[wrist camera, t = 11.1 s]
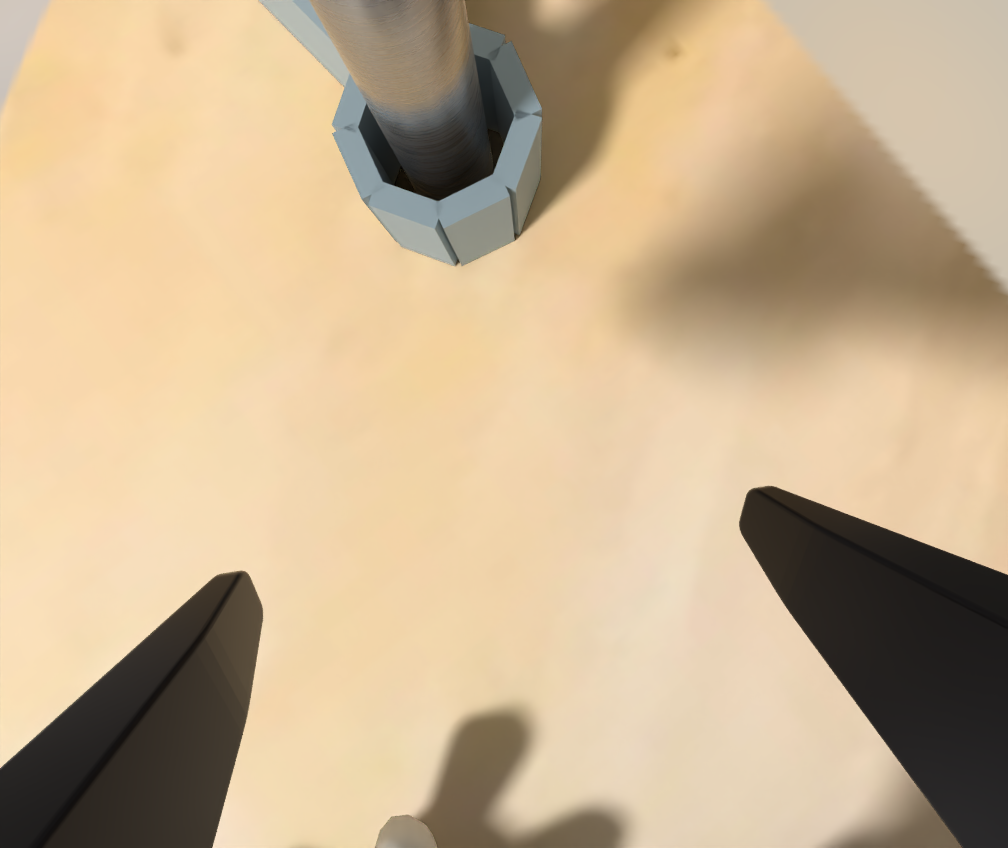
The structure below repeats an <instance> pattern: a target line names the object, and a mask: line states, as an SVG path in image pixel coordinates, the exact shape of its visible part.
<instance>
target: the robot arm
mask: <svg viewBox="0 0 1008 848" xmlns="http://www.w3.org/2000/svg"><path fill="white" fill-rule="evenodd" d="M739 527H740V531H741V534H742V536H743V537H744V539H745V541H746V542H747V544H748V546H749V547H750V549H751V551H752V552H753V554H754V556H755V557H756V559H757V561H758V562H759V564H760V566H761V567H762V569H763V571H764V572H765V574H766V576H767V577H768V579H769V581H770V582H771V584H772V586H773V587H774V589H775V591H776V592H777V594H778V595H779V597H780V599H781V600H782V602H783V603H784V605H785V606H786V608H787V609H788V611H789V612H790V613H791V615H792V616H793V618H794V619H795V620H796V622H797V623H798V625H799V626H800V627H801V629H802V630H803V631H804V633H805V634H806V635H807V637H808V638H809V640H810V641H811V642H812V644H813V645H814V646H815V648H816V649H817V650H818V652H819V653H820V654H821V656H822V657H823V659H824V660H825V661H826V663H827V664H828V665H829V667H830V668H831V669H832V671H833V672H834V674H835V675H836V676H837V678H838V679H839V680H840V682H841V683H842V684H843V686H844V687H845V689H846V690H847V691H848V693H849V694H850V695H851V697H852V698H853V699H854V701H855V702H856V704H857V705H858V706H859V708H860V709H861V710H862V712H863V713H864V714H865V716H866V717H867V719H868V720H869V721H870V723H871V724H872V725H873V727H874V728H875V729H876V731H877V732H878V733H879V735H880V736H881V738H882V739H883V740H884V742H885V743H886V744H887V746H888V747H889V748H890V750H891V751H892V753H893V754H894V755H895V757H896V758H897V759H898V761H899V762H900V763H901V765H902V766H903V768H904V769H905V770H906V772H907V773H908V774H909V776H910V777H911V778H912V780H913V781H914V783H915V784H916V785H917V787H918V788H919V789H920V791H921V792H922V793H923V795H924V796H925V798H926V799H927V800H928V802H929V803H930V804H931V806H932V807H933V808H934V810H935V811H936V812H937V814H938V815H939V817H940V818H941V819H942V821H943V822H944V823H945V825H946V826H947V827H948V829H949V830H950V832H951V833H952V834H953V836H954V837H955V838H956V840H957V841H958V842H959V844H960V845H961V847H962V848H1008V575H1007V574H1004V573H1001V572H999V571H996V570H993V569H991V568H988V567H986V566H983V565H980V564H978V563H975V562H972V561H970V560H967V559H964V558H962V557H959V556H956V555H954V554H951V553H949V552H946V551H943V550H941V549H938V548H935V547H933V546H930V545H927V544H925V543H922V542H919V541H917V540H914V539H912V538H909V537H906V536H904V535H901V534H898V533H896V532H893V531H890V530H888V529H885V528H882V527H880V526H877V525H875V524H872V523H869V522H867V521H864V520H861V519H859V518H856V517H853V516H851V515H848V514H845V513H843V512H840V511H838V510H835V509H832V508H830V507H827V506H824V505H822V504H819V503H816V502H814V501H811V500H808V499H806V498H803V497H801V496H798V495H795V494H793V493H790V492H787V491H785V490H782V489H779V488H777V487H774V486H765V487H758V488H753V489H751V490H750V491H749V492H748V493H747V495H746V498H745V502H744V506H743V510H742V513H741V517H740V521H739ZM262 622H263V608H262V604H261V601H260V599H259V597H258V594H257V592H256V590H255V587H254V585H253V583H252V580H251V578H250V576H249V574H248V573H247V572H245V571H235V572H229V573H223V574H219V575H217V576H215V577H214V578H213V579H211V580H210V581H209V582H208V583H207V584H206V585H205V586H204V587H202V588H201V589H200V590H199V591H198V592H197V593H196V594H195V595H193V596H192V597H191V598H190V599H189V600H188V601H187V602H186V603H184V604H183V605H182V606H181V607H180V608H179V609H178V610H177V611H176V612H174V613H173V614H172V615H171V616H170V617H169V618H168V619H167V620H165V621H164V622H163V623H162V624H161V625H160V626H159V627H158V628H157V629H155V630H154V631H153V632H152V633H151V634H150V635H149V636H148V637H146V638H145V639H144V640H143V641H142V642H141V643H140V644H139V645H138V646H136V647H135V648H134V649H133V650H132V651H131V652H130V653H129V654H127V655H126V656H125V657H124V658H123V659H122V660H121V661H120V662H119V663H117V664H116V665H115V666H114V667H113V668H112V669H111V670H110V671H108V672H107V673H106V674H105V675H104V676H103V677H102V678H101V679H100V680H98V681H97V682H96V683H95V684H94V685H93V686H92V687H91V688H89V689H88V690H87V691H86V692H85V693H84V694H83V695H82V696H80V697H79V698H78V699H77V700H76V701H75V702H74V703H73V704H72V705H70V706H69V707H68V708H67V709H66V710H65V711H64V712H63V713H61V714H60V715H59V716H58V717H57V718H56V719H55V720H54V721H53V722H51V723H50V724H49V725H48V726H47V727H46V728H45V729H44V730H42V731H41V732H40V733H39V734H38V735H37V736H36V737H35V738H34V739H32V740H31V741H30V742H29V743H28V744H27V745H26V746H25V747H23V748H22V749H21V750H20V751H19V752H18V753H17V754H16V755H15V756H13V757H12V758H11V759H10V760H9V761H8V762H7V763H6V764H4V765H3V766H2V767H1V768H0V848H212V847H213V843H214V839H215V836H216V832H217V828H218V825H219V821H220V817H221V813H222V810H223V806H224V802H225V799H226V795H227V791H228V787H229V784H230V780H231V776H232V773H233V769H234V765H235V761H236V758H237V754H238V750H239V746H240V743H241V739H242V735H243V731H244V727H245V723H246V719H247V715H248V709H249V704H250V698H251V692H252V685H253V679H254V673H255V666H256V660H257V654H258V647H259V641H260V635H261V628H262Z"/></svg>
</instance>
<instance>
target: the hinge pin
mask: <svg viewBox="0 0 1008 848" xmlns="http://www.w3.org/2000/svg"><path fill="white" fill-rule="evenodd" d="M309 1H310V3H311V5H312V6H313V8H314V10H315V12H316V14H317V15H318V17H319V19H320V21H321V23H322V24H323V26H324V28H325V30H326V31H327V33H328V35H329V37H330V39H331V40H332V42H333V44H334V46H335V48H336V49H337V51H338V53H339V55H340V57H341V58H342V60H343V62H344V64H345V66H346V67H347V69H348V71H349V73H350V75H351V76H352V78H353V80H354V82H355V84H356V85H357V87H358V89H359V91H360V93H361V94H362V96H363V98H364V100H365V102H366V103H367V105H368V107H369V109H370V111H371V112H372V114H373V116H374V118H375V120H376V121H377V123H378V125H379V127H380V128H381V130H382V132H383V134H384V136H385V137H386V139H387V141H388V143H389V145H390V146H391V148H392V150H393V152H394V154H395V155H396V157H397V159H398V161H399V163H400V164H401V166H402V168H403V170H404V172H405V173H406V175H407V177H408V179H409V181H410V182H411V184H412V186H413V188H414V190H415V191H416V193H417V194H418V195H421V196H424V197H427V198H430V199H432V200H435V201H440V200H442V199H444V198H446V197H448V196H450V195H452V194H454V193H456V192H459V191H461V190H463V189H465V188H467V187H469V186H471V185H473V184H475V183H477V182H479V181H481V180H483V179H485V178H487V177H489V176H491V175H493V173H494V165H493V159H492V154H491V148H490V142H489V136H488V131H487V125H486V119H485V113H484V108H483V102H482V96H481V90H480V85H479V79H478V73H477V67H476V62H475V56H474V50H473V44H472V39H471V33H470V27H469V22H468V16H467V10H466V4H465V0H309Z"/></svg>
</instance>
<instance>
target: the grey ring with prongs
mask: <svg viewBox="0 0 1008 848" xmlns="http://www.w3.org/2000/svg"><path fill="white" fill-rule="evenodd" d="M259 1H260V2H261V3H262V4H263V5H264V6H265V7H266V8H267V9H268V10H269V11H270V12H271V13H272V14H273V15H274V16H275V17H276V18H277V19H278V20H279V21H280V22H281V23H282V24H283V25H284V26H285V27H286V29H287V30H288V31H289V32H290V33H291V34H292V35H293V36H294V37H295V38H296V39H297V40H298V41H299V42H300V43H301V44H302V45H303V46H304V47H305V48H306V49H307V50H308V51H309V52H310V53H311V54H312V55H313V56H314V57H315V58H316V59H317V60H318V61H319V62H320V63H321V64H322V65H323V66H324V67H325V68H326V69H327V70H328V71H329V72H330V73H331V74H332V75H333V76H334V77H335V78H336V79H337V80H338V81H339V82H340V83H341V84H342V85H343V86H344V87H345V88H344V91H343V94H342V97H341V100H340V103H339V106H338V108H337V111H336V114H335V117H334V120H333V123H332V126H333V127H334V128H335V130H336V132H334V133H332V134H333V136H334V139H335V141H336V143H337V145H338V148H339V150H340V152H341V154H342V156H343V159H344V161H345V163H346V165H347V168H348V170H349V172H350V174H351V176H352V179H353V181H354V183H355V185H356V188H357V190H358V192H359V194H360V196H361V199H362V200H363V201H364V203H365V204H366V205H367V206H368V208H369V209H370V210H371V211H372V212H373V214H374V215H375V216H376V217H377V219H378V220H379V221H380V222H381V224H382V225H383V226H384V227H385V229H386V230H387V231H388V232H389V233H390V235H391V236H392V237H393V238H394V240H395V241H396V242H398V243H399V244H400V246H401V247H403V248H406V249H409V250H411V251H414V252H417V253H420V254H422V255H425V256H428V257H431V258H433V259H436V260H439V261H442V262H444V263H447V264H450V265H453V266H455V265H456V262H457V260H458V259H459V261H460V263H461V265H462V266H463V265H465V264H467V263H469V262H471V261H473V260H475V259H478V258H480V257H482V256H484V255H486V254H488V253H490V252H492V251H494V250H496V249H498V248H500V247H503V246H505V245H507V244H509V243H511V242H513V241H515V238H514V233H515V234H517V235H520V233H521V230H522V227H523V225H524V222H525V219H526V217H527V214H528V211H529V209H530V206H531V203H532V201H533V198H534V195H535V192H536V190H537V187H538V184H539V182H540V179H541V144H542V108H541V105H540V103H539V101H538V99H537V97H536V94H535V92H534V90H533V88H532V85H531V83H530V81H529V79H528V77H527V74H526V72H525V70H524V68H523V66H522V63H521V61H520V59H519V57H518V54H517V52H516V50H515V48H514V46H513V43H512V41H510V42H508V43H505V35H503V34H500V33H497V32H494V31H491V30H488V29H485V28H482V27H479V26H476V25H473V24H470V23H469V27H470V33H471V39H472V44H473V50H474V56H475V62H476V67H477V73H478V79H479V85H480V90H481V96H482V102H483V108H484V113H485V119H486V125H487V129H490V130H493V131H496V132H499V134H500V136H501V139H502V141H503V143H504V146H503V148H502V151H501V154H500V157H499V159H498V162H497V165H496V168H495V170H494V173H493V175H491V176H489V177H487V178H485V179H483V180H481V181H479V182H477V183H475V184H473V185H471V186H469V187H467V188H465V189H463V190H461V191H459V192H456V193H454V194H452V195H450V196H448V197H446V198H444V199H442V200H440V201H435V200H432V199H430V198H427V197H424V196H421V195H418V194H415V193H413V192H410V191H407V190H404V189H401V188H399V187H396V186H394V183H395V180H396V178H397V175H398V172H399V169H400V166H401V164H400V163H399V161H398V159H397V157H396V155H395V154H394V152H393V150H392V148H391V146H390V145H389V143H388V141H387V139H386V137H385V136H384V134H383V132H382V130H381V128H380V127H379V125H378V123H377V121H376V120H375V118H374V116H373V114H372V112H371V111H370V109H369V107H368V105H367V103H366V102H365V100H364V98H363V96H362V94H361V93H360V91H359V89H358V87H357V85H356V84H355V82H354V80H353V78H352V76H351V75H350V73H349V71H348V69H347V67H346V66H345V64H344V62H343V60H342V58H341V57H340V55H339V53H338V51H337V49H336V48H335V46H334V44H333V42H332V40H331V39H330V37H329V35H328V33H327V31H326V30H325V28H324V26H323V24H322V23H321V21H320V19H319V17H318V15H317V14H316V12H315V10H314V8H313V6H312V5H311V3H310V1H309V0H259Z"/></svg>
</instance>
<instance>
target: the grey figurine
mask: <svg viewBox="0 0 1008 848" xmlns="http://www.w3.org/2000/svg"><path fill="white" fill-rule="evenodd" d="M375 848H438V847H437V844H436V842H435V839H434V836H433V834H432V833H431V832H430V830H429V829H428V827H427V826H426V824H424V823H422V822H421V821H419V820H417V819H415V818H414V817H412V816H410V815H402V816H394V817H391V818H390V819H389V820H388V822H387V823H386V824H385V825H384V827H383V828H382V829H381V830H380V833H379V836H378V839H377V843H376V846H375Z"/></svg>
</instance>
